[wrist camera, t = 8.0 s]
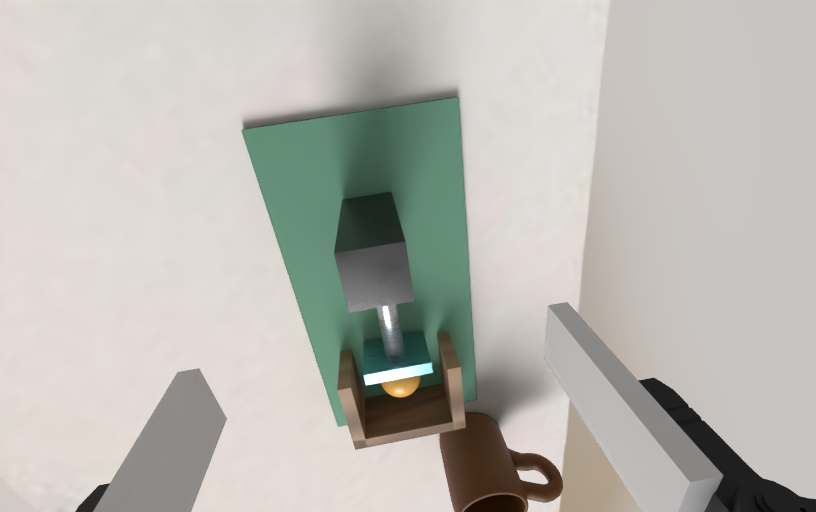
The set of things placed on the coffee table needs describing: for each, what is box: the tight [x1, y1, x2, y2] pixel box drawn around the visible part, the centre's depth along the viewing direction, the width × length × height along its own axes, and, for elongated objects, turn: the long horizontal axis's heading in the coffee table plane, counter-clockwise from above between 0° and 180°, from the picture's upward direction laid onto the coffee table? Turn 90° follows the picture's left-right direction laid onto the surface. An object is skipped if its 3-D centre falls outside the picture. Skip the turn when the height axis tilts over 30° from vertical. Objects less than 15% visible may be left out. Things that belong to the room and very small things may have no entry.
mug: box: [440, 413, 563, 512], centre depth 40 cm, size 12×8×9 cm, turn 97°
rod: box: [334, 192, 433, 385], centre depth 28 cm, size 16×6×10 cm, turn 7°
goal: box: [337, 332, 466, 450], centre depth 35 cm, size 8×11×5 cm
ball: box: [381, 375, 420, 397], centre depth 35 cm, size 4×4×4 cm
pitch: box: [241, 97, 477, 427], centre depth 34 cm, size 32×16×1 cm, turn 7°
